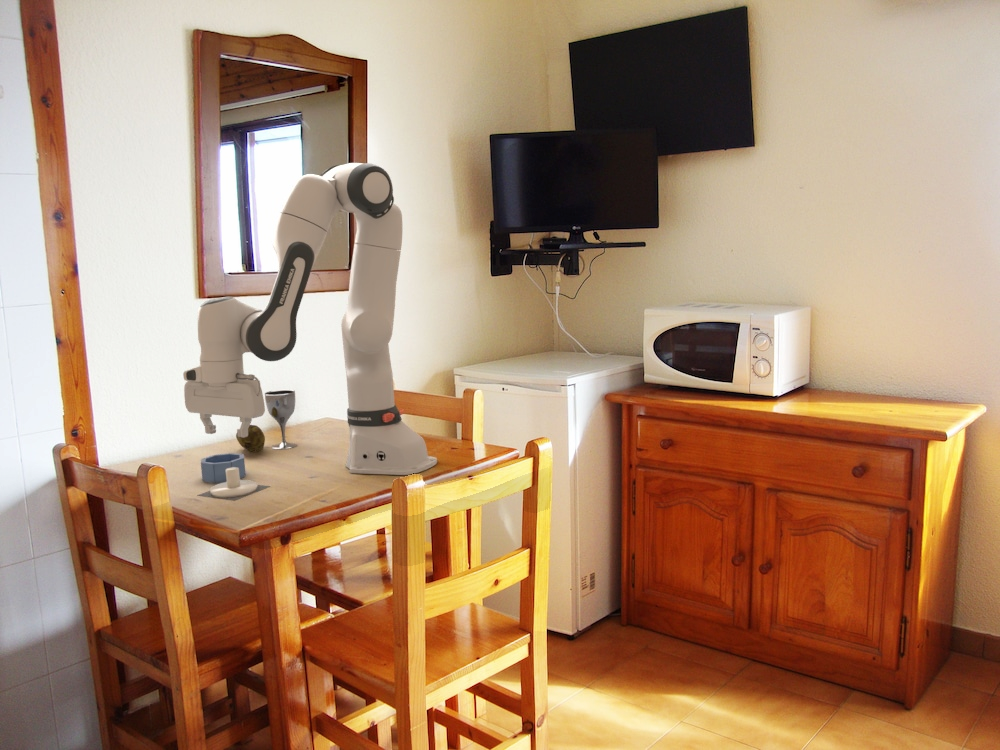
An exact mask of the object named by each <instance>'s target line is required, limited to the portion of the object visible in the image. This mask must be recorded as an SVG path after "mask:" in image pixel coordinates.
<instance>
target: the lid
mask: <svg viewBox="0 0 1000 750" xmlns="http://www.w3.org/2000/svg"><path fill="white" fill-rule="evenodd" d="M226 480H227V482H223V483H216V484H215V485H213V486H211V487H210V489H209V491H210V494H211V495H212V496H214V497H221V498H227V497H237V496H242V495H247V494H250V493H252V492H254V491H256V490H257V489H258V486H257V485H258V481H257V482H256V481H255V480H249V479H240V476H239V468H238V467H231V468H227V469H226ZM250 495H251V494H250Z"/></svg>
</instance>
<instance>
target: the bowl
mask: <svg viewBox="0 0 1000 750" xmlns="http://www.w3.org/2000/svg"><path fill="white" fill-rule="evenodd" d="M245 463H246V462H245V454H244V453H237V452H236V453H235V452H234V453H233V452H229V453H219V454H218V453H217V454H212V455H209V456H206V457H203V458H201V459H200V467H201V468H200V469H201V480H202V481H203V482H205V483H209V484H220V483H224V482H227V480H226V469H227V468H231V467H238V468H239V476H240V480H242V479H243V478H245V477H246V474H247V473H246V464H245Z"/></svg>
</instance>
